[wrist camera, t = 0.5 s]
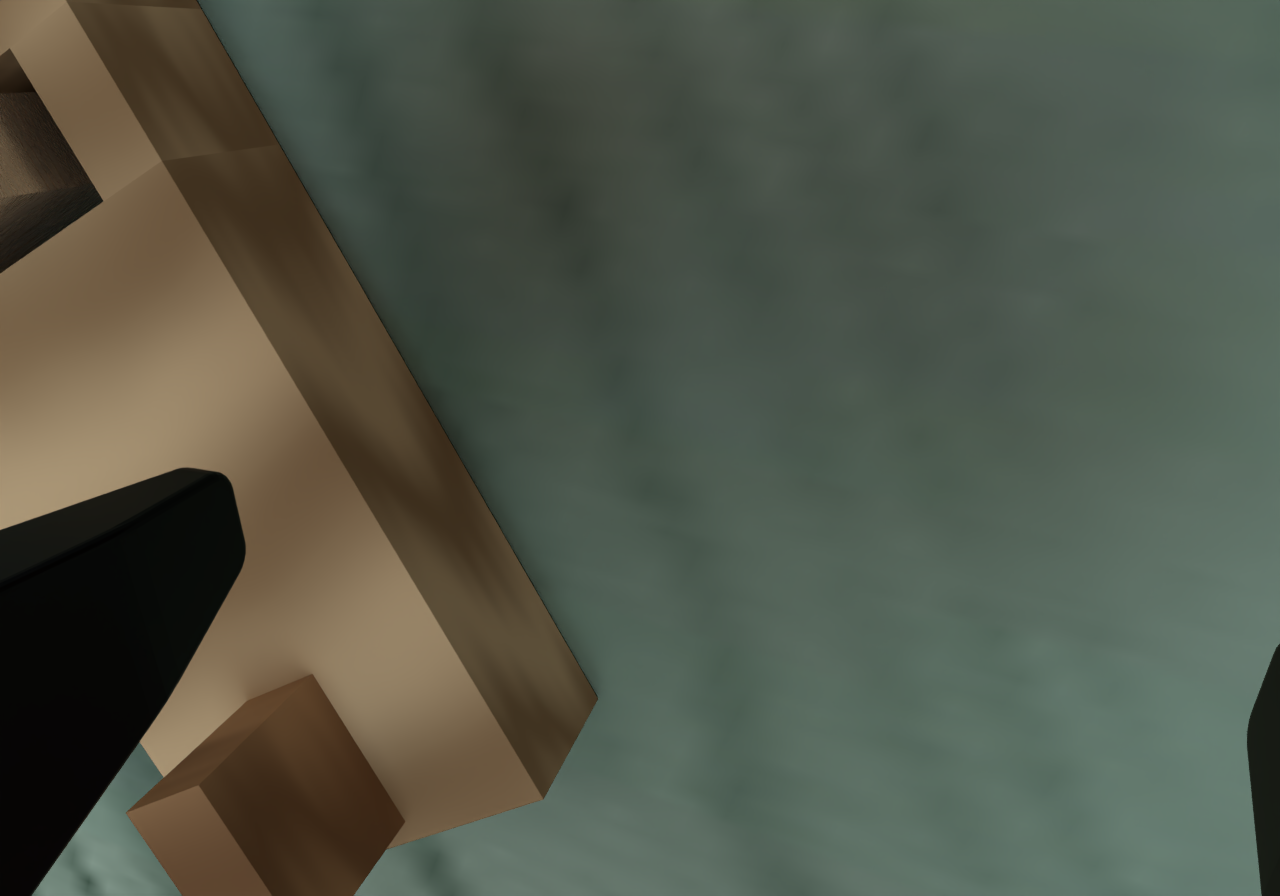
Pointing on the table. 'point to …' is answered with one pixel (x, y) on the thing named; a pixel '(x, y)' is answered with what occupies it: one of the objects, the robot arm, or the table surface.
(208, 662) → the hand plane
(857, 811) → the table surface
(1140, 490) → the table surface
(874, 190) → the table surface
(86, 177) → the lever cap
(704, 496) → the table surface
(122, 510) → the robot arm
